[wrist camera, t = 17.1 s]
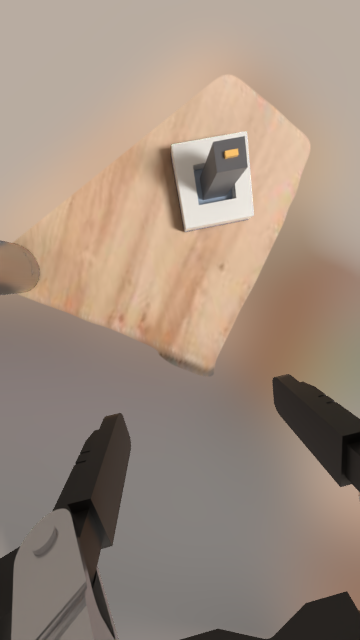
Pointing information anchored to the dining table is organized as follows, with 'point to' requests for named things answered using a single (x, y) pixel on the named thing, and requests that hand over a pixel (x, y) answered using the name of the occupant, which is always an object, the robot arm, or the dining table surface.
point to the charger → (223, 167)
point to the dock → (193, 207)
